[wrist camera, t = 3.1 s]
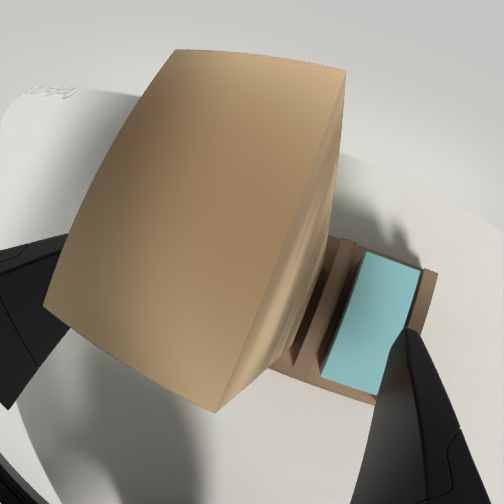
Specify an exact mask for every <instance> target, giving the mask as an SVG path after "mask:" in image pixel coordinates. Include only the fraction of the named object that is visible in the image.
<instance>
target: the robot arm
mask: <svg viewBox="0 0 504 504" xmlns="http://www.w3.org/2000/svg"><path fill="white" fill-rule="evenodd" d="M68 234H69V233H68ZM68 234H63V235H59V236H55V237H51V238H47V239H43V240H40V241H36V242H32V243H30V244H29V243H28V244H24V245H20V246H16V247H13V248H9V249H4V250H0V403H2V405H3V406H4V407H5V408H6V409H7V410H9V409H10V408H11V406H12V405H13V404H14V402H15V401H16V399H17V398H18V396H19V395H20V394H21V392H22V391H23V389H24V388H25V387H26V385H27V384H28V382H29V381H30V380H31V378H32V377H33V376H34V374H35V373H36V372H37V370H38V369H39V367H40V366H41V365H42V363H43V362H44V361H45V359H46V358H47V357H48V356H49V354H50V353H51V352H52V350H53V349H54V348H55V347H56V345H57V344H58V343H59V342H60V340H61V339H62V338H63V337H64V335H65V334H66V333H67V332H68V330H69V329H70V327H69V326H68V325H66V324H65V323H64V322H62V321H61V320H60V319H59V318H57V317H56V316H55V315H53V314H52V313H51V312H50V311H48V310H47V309H46V308H45V307H43V304H44V301H45V297H46V294H47V291H48V288H49V285H50V282H51V279H52V276H53V273H54V271H55V268H56V265H57V262H58V260H59V257H60V254H61V252H62V249H63V247H64V244H65V242H66V239H67V237H68ZM0 503H1V504H49V503H48V502H47V501H46V500H45V499H44V498H43V497H41V496H40V495H39V494H38V493H37V492H36V491H35V490H34V489H33V488H32V487H31V486H30V485H29V484H28V483H27V482H26V481H25V480H24V479H23V478H22V477H21V476H20V475H19V474H18V472H17V471H16V470H15V469H14V468H13V467H12V466H11V465H10V464H9V462H8V461H7V460H6V459H5V458H4V457H3V455H2V454H1V453H0ZM350 504H491V502H490V499H489V497H488V494H487V492H486V489H485V487H484V485H483V482H482V480H481V477H480V475H479V473H478V471H477V468H476V466H475V463H474V461H473V459H472V456H471V454H470V451H469V448H468V446H467V443H466V441H465V438H464V435H463V432H462V430H461V429H460V425H459V422H458V420H457V417H456V415H455V412H454V410H453V407H452V405H451V402H450V400H449V397H448V395H447V393H446V390H445V388H444V386H443V383H442V381H441V379H440V377H439V374H438V372H437V370H436V368H435V366H434V363H433V361H432V359H431V357H430V355H429V353H428V351H427V349H426V347H425V344H424V342H423V340H422V338H421V336H420V334H419V332H418V331H417V330H415V329H412V328H409V327H404V328H403V329H402V331H401V332H400V334H399V335H398V337H397V338H396V340H395V341H394V343H393V344H392V346H391V348H390V351H389V355H388V359H387V362H386V366H385V370H384V373H383V377H382V381H381V384H380V387H379V391H378V394H377V398H376V403H375V408H374V413H373V418H372V423H371V427H370V432H369V436H368V441H367V445H366V449H365V453H364V457H363V461H362V465H361V468H360V472H359V476H358V479H357V483H356V486H355V489H354V493H353V496H352V499H351V502H350Z"/></svg>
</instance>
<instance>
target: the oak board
mask: <svg viewBox="0 0 504 504" xmlns="http://www.w3.org/2000/svg"><path fill="white" fill-rule="evenodd" d="M345 79H346V70H342V69H337V68H333V67H328V66H324V65H319V64H314V63H309V62H304V61H298V60H292V59H286V58H280V57H272V56H265V55H257V54H248V53H237V52H226V51H209V50H175V51H174V52H173V53H172V55H171V56H170V57H169V59H168V60H167V61H166V63H165V64H164V65H163V67H162V68H161V69H160V71H159V72H158V74H157V75H156V76H155V78H154V79H153V81H152V82H151V83H150V85H149V86H148V88H147V89H146V91H145V92H144V94H143V95H142V97H141V98H140V100H139V101H138V103H137V104H136V106H135V107H134V109H133V111H132V112H131V114H130V115H129V117H128V119H127V120H126V122H125V124H124V125H123V127H122V129H121V130H120V132H119V134H118V135H117V137H116V139H115V141H114V142H113V144H112V146H111V148H110V149H109V151H108V153H107V155H106V157H105V158H104V160H103V162H102V164H101V166H100V168H99V170H98V172H97V174H96V176H95V178H94V180H93V182H92V184H91V186H90V188H89V190H88V192H87V194H86V196H85V198H84V200H83V202H82V204H81V207H80V209H79V211H78V213H77V216H76V218H75V220H74V222H73V225H72V227H71V229H70V232H69V234H68V237H67V239H66V242H65V244H64V247H63V249H62V252H61V254H60V257H59V260H58V262H57V265H56V268H55V271H54V273H53V276H52V279H51V282H50V285H49V288H48V291H47V294H46V297H45V301H44V304H43V307H45V308H46V309H47V310H48V311H50V312H51V313H52V314H53V315H55V316H56V317H57V318H59V319H60V320H61V321H62V322H64V323H65V324H66V325H68V326H69V327H70V328H72V329H73V330H75V331H76V332H77V333H79V334H80V335H81V336H83V337H84V338H86V339H87V340H89V341H90V342H91V343H93V344H94V345H96V346H97V347H99V348H100V349H102V350H103V351H105V352H106V353H108V354H109V355H111V356H112V357H114V358H115V359H117V360H118V361H120V362H122V363H123V364H125V365H126V366H128V367H130V368H131V369H133V370H134V371H136V372H138V373H139V374H141V375H143V376H144V377H146V378H148V379H150V380H151V381H153V382H155V383H157V384H158V385H160V386H162V387H164V388H165V389H167V390H169V391H171V392H173V393H175V394H177V395H178V396H180V397H182V398H184V399H186V400H188V401H190V402H192V403H194V404H196V405H198V406H200V407H202V408H204V409H206V410H208V411H210V412H212V413H214V414H215V413H216V412H217V411H218V410H220V409H221V408H222V407H223V406H224V405H226V404H227V403H228V402H229V401H230V400H232V399H233V398H234V397H235V396H236V395H237V394H239V393H240V392H241V391H242V390H243V389H244V388H245V387H247V386H248V385H249V384H250V383H251V382H252V381H253V380H254V379H256V378H257V377H258V376H259V375H260V374H261V373H262V372H263V371H264V370H266V369H267V368H268V367H269V366H270V365H271V364H272V363H273V362H274V361H275V360H276V359H278V358H279V357H280V356H281V355H282V354H283V353H284V352H285V351H286V350H287V349H288V348H289V347H290V346H291V345H292V344H293V343H294V341H295V338H296V336H297V333H298V331H299V328H300V326H301V323H302V320H303V318H304V315H305V313H306V310H307V307H308V305H309V302H310V300H311V297H312V294H313V292H314V289H315V286H316V283H317V281H318V278H319V275H320V272H321V270H322V267H323V262H324V256H325V250H326V244H327V238H328V232H329V225H330V218H331V212H332V205H333V197H334V190H335V182H336V174H337V166H338V157H339V148H340V138H341V129H342V117H343V106H344V94H345Z"/></svg>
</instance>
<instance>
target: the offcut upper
mask: <svg viewBox="0 0 504 504" xmlns="http://www.w3.org/2000/svg"><path fill="white" fill-rule="evenodd" d="M419 274H420V271H419V270H416V269H413V268H411V267H408V266H405V265H403V264H400V263H397V262H394V261H392V260H389V259H386V258H383V257H381V256H378V255H375V254H372V253H370V252H367V251H366V253H365V254H364V256H363V257H362V259H361V262H360V265H359V268H358V271H357V274H356V277H355V280H354V283H353V286H352V289H351V292H350V295H349V298H348V301H347V303H346V306H345V309H344V312H343V314H342V317H341V320H340V322H339V325H338V328H337V330H336V333H335V336H334V338H333V341H332V343H331V346H330V348H329V351H328V353H327V356H326V358H325V360H324V363H323V365H322V368H321V370H320V377H323V378H325V379H328V380H331V381H334V382H337V383H340V384H343V385H346V386H349V387H352V388H355V389H358V390H361V391H364V392H367V393H370V394H373V395H377V394H378V391H379V387H380V384H381V381H382V377H383V373H384V370H385V366H386V362H387V359H388V355H389V351H390V348H391V346H392V344H393V343H394V341H395V340H396V338H397V337H398V335H399V334H400V332H401V331H402V329H403V327H404V324H405V321H406V318H407V315H408V312H409V309H410V305H411V302H412V299H413V296H414V292H415V289H416V285H417V282H418V278H419Z"/></svg>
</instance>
